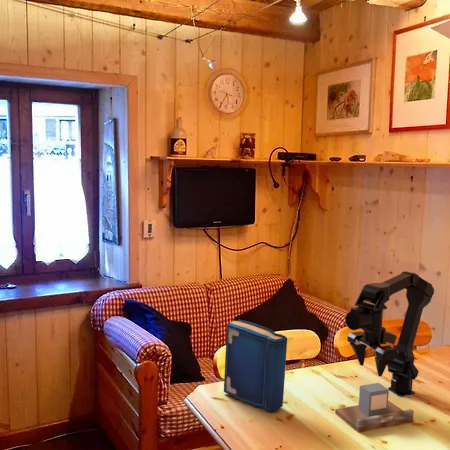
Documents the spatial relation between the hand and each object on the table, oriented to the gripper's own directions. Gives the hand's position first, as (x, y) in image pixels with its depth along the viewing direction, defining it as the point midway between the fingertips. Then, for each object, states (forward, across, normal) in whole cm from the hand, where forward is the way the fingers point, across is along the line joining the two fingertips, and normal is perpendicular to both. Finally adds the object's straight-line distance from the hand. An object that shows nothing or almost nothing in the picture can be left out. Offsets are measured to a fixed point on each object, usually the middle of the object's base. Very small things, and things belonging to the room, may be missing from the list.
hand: (370, 370), depth 168 cm
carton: (+10, -7, +4) cm, 13 cm away
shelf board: (+12, -8, +4) cm, 15 cm away
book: (+11, +15, +35) cm, 39 cm away
